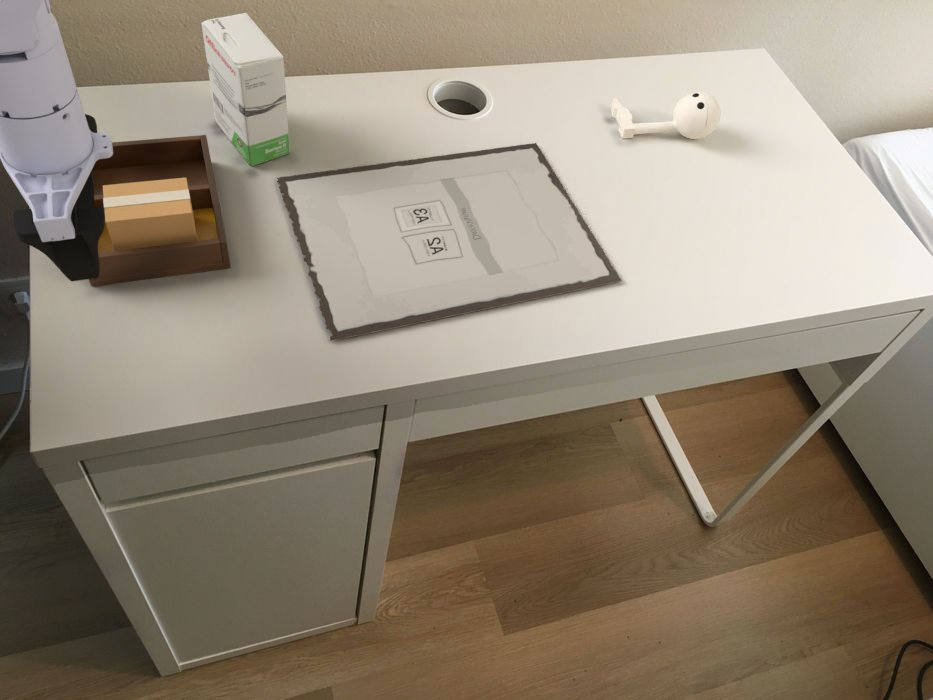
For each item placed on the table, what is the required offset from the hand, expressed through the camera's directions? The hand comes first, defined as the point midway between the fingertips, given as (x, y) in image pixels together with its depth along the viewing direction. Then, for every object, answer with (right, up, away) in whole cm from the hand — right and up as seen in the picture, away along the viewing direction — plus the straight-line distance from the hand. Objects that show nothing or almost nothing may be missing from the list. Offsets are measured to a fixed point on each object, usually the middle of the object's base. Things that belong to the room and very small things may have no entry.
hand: (82, 240), depth 60 cm
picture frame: (+28, +4, +18) cm, 34 cm away
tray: (0, +4, +13) cm, 14 cm away
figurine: (+54, +19, +34) cm, 67 cm away
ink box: (+7, +14, +22) cm, 27 cm away
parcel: (+2, +2, +11) cm, 11 cm away
